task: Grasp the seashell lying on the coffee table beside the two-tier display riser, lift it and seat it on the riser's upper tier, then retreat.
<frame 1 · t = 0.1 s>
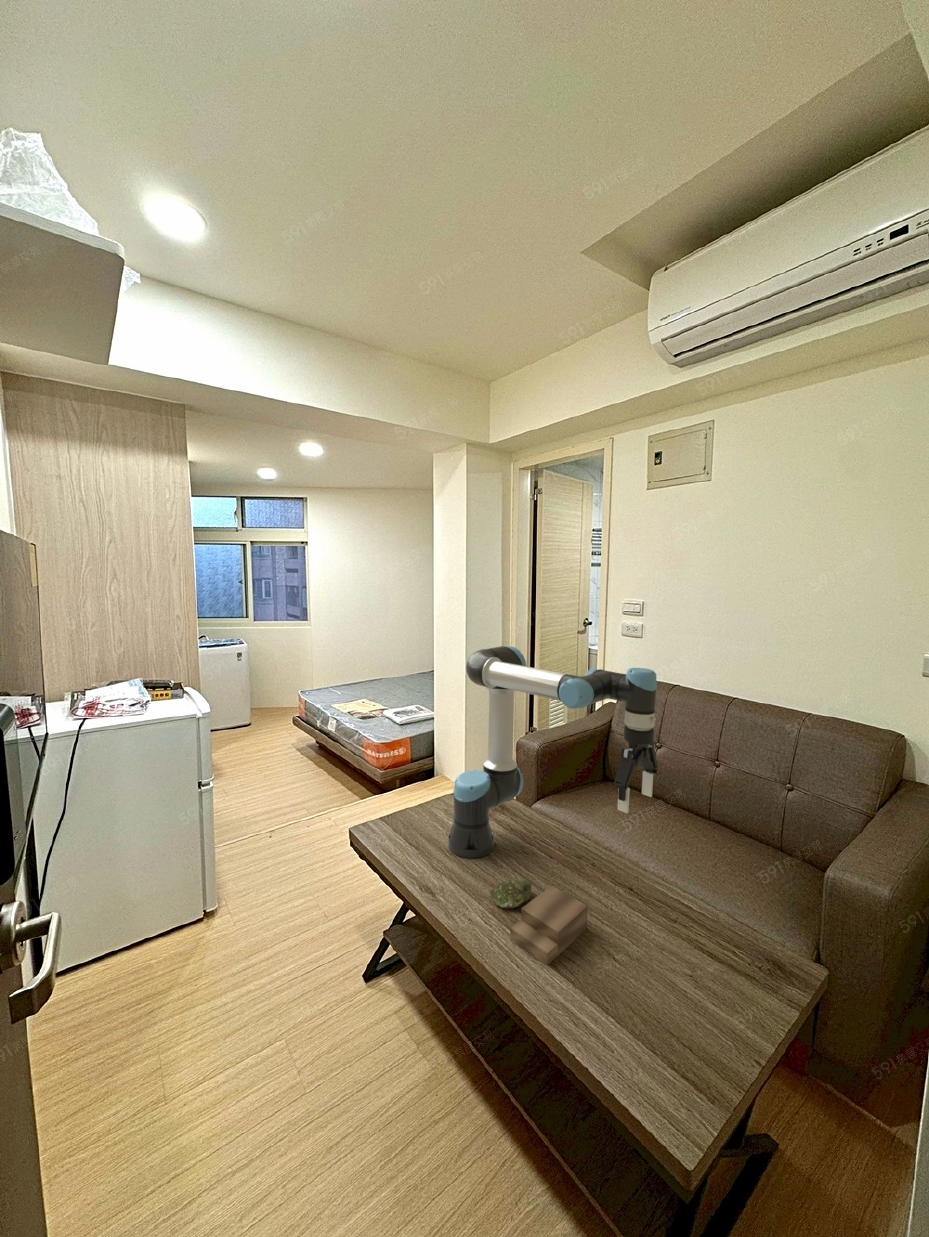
hand: (635, 802, 130), 28 cm above the table, fingers open, 13 cm apart
seashell: (511, 899, 133), on the table
riser: (548, 934, 119), on the table
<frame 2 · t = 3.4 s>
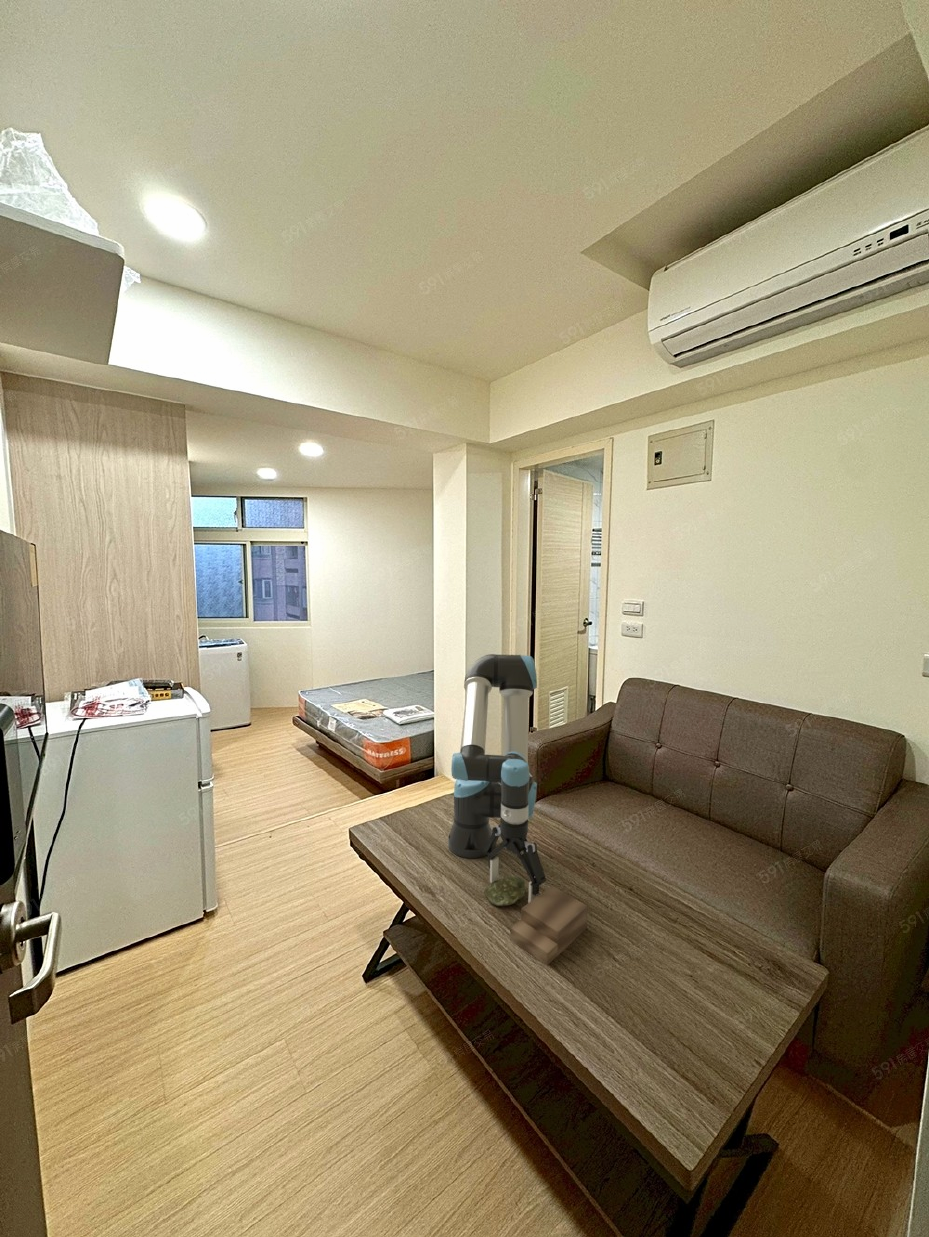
hand: (512, 892, 132), 2 cm above the table, fingers open, 13 cm apart
seashell: (505, 896, 133), on the table, touching gripper
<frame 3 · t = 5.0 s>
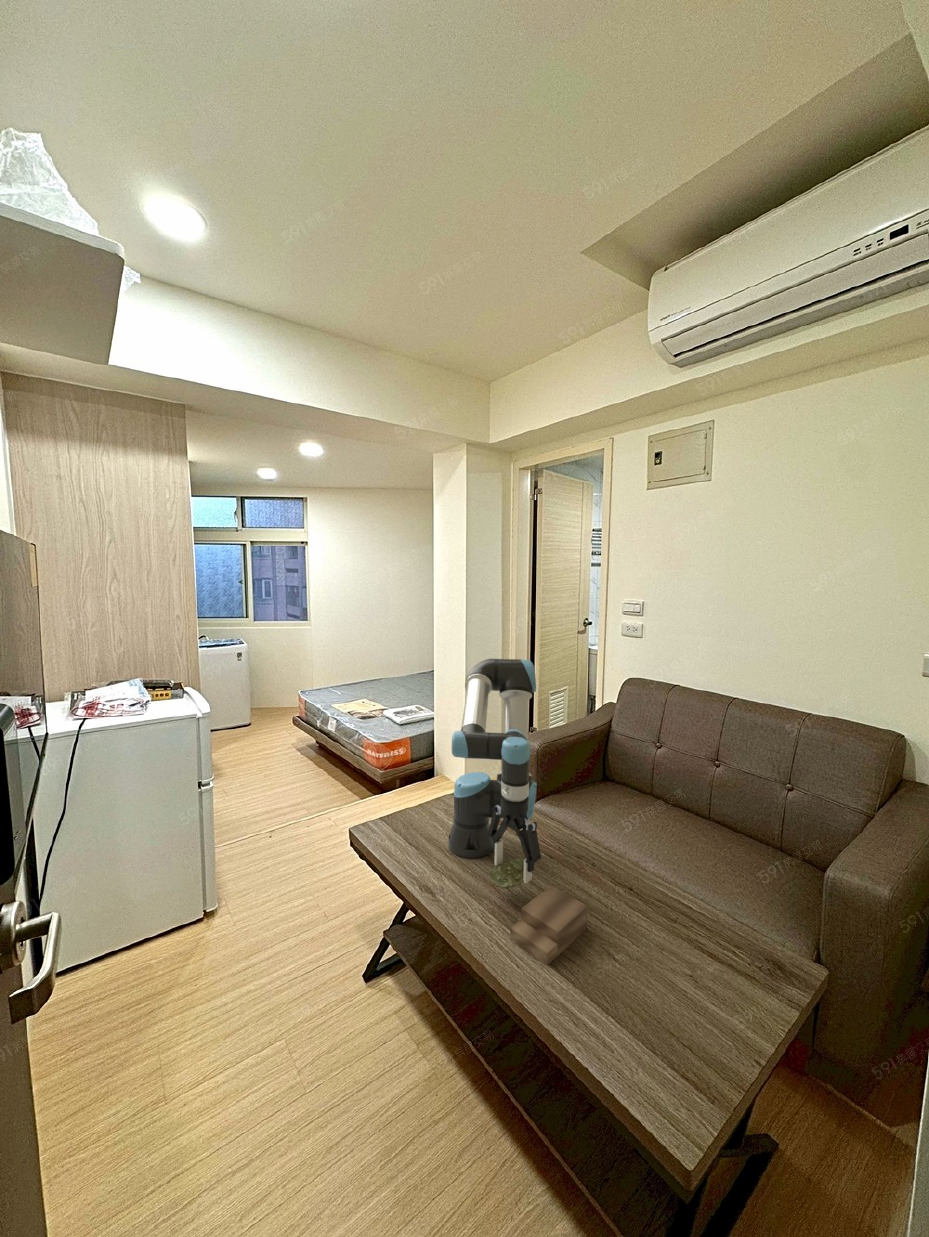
hand: (512, 871, 133), 7 cm above the table, fingers closed on seashell, 10 cm apart
seashell: (510, 879, 133), point 5 cm above the table, touching gripper
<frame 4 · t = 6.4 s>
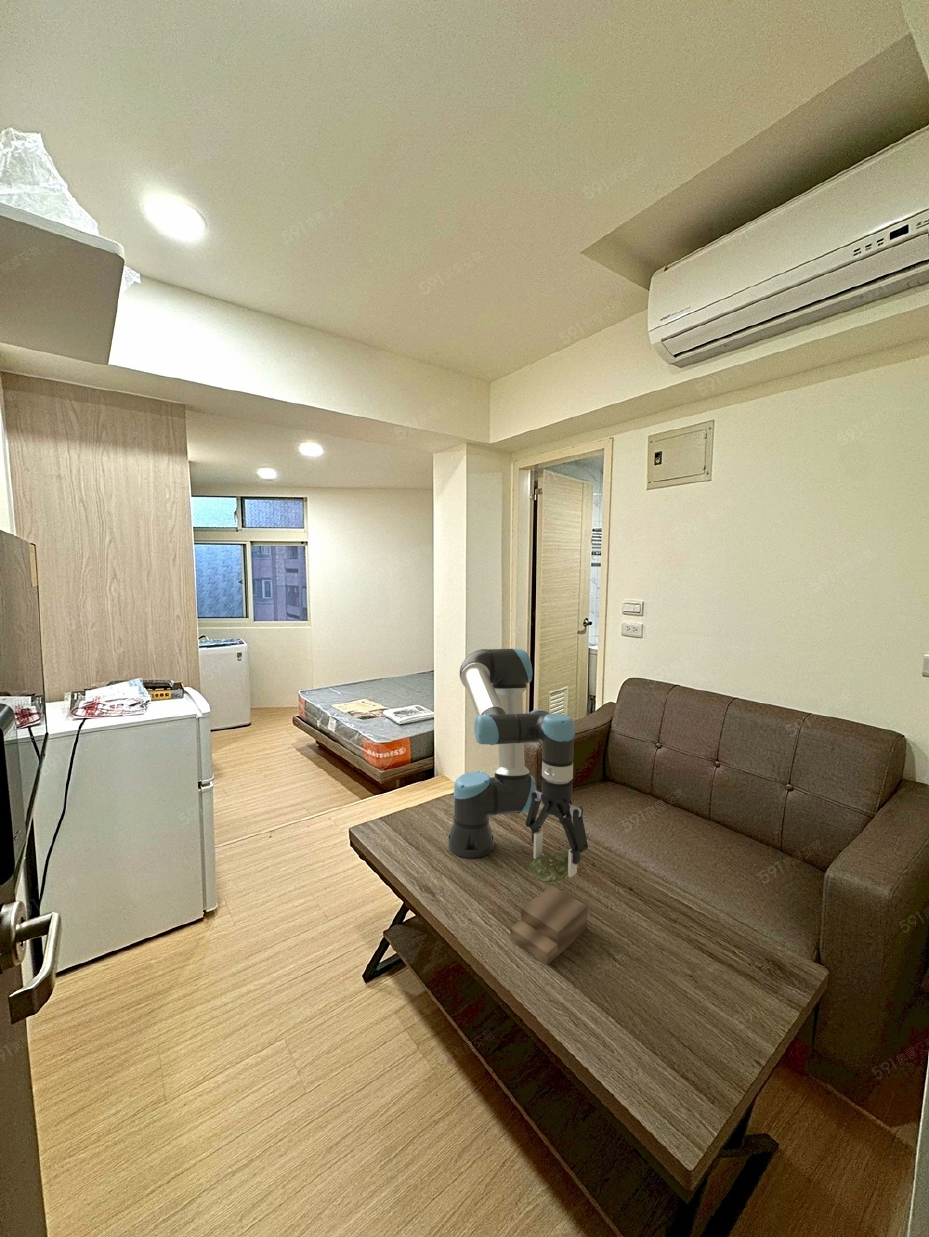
hand: (554, 865, 119), 17 cm above the table, fingers closed on seashell, 10 cm apart
seashell: (551, 873, 120), point 15 cm above the table, touching gripper
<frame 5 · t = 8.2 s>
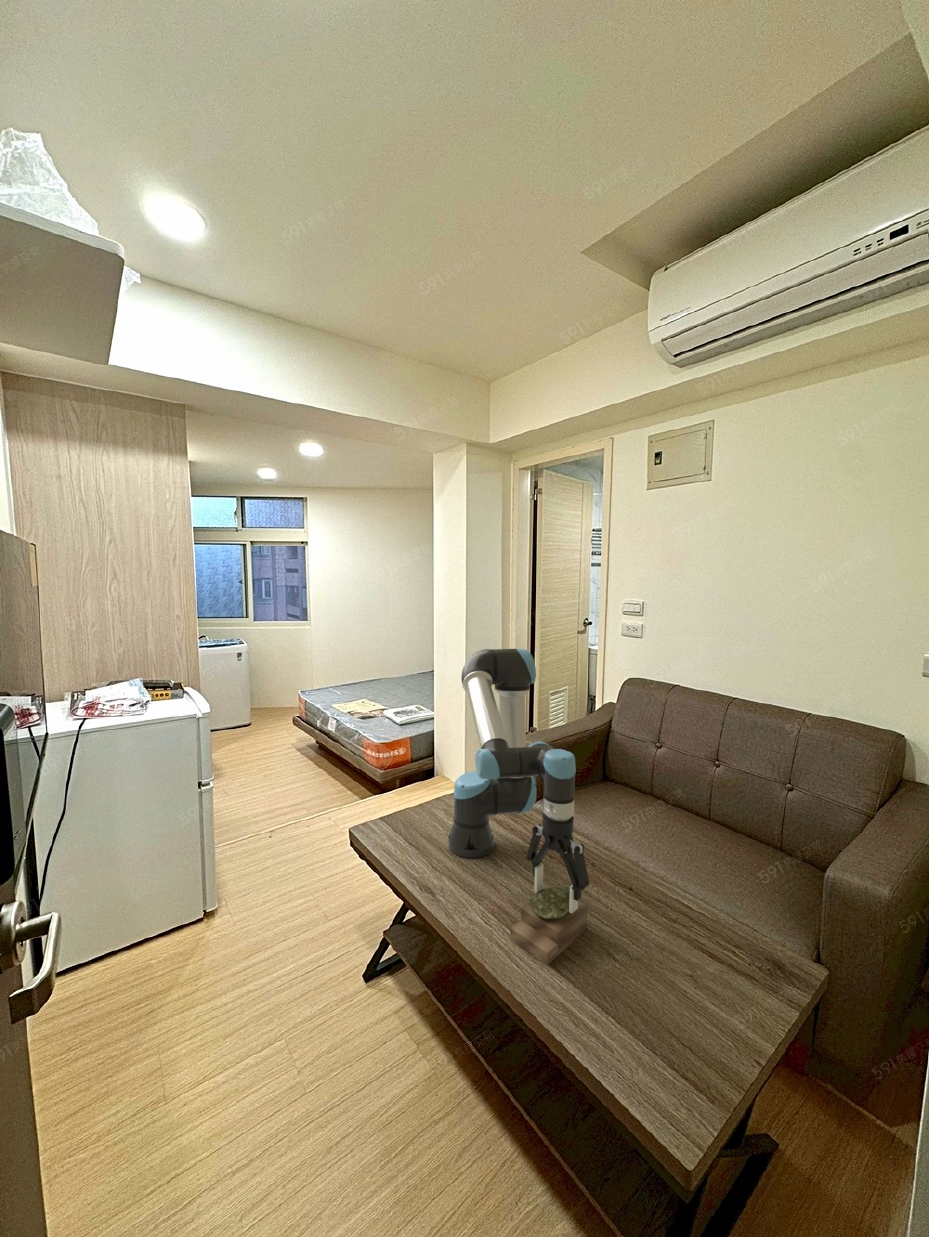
hand: (555, 899, 120), 8 cm above the table, fingers closed on seashell, 10 cm apart
seashell: (552, 908, 120), point 6 cm above the table, touching gripper, riser
when the fingers open (8 cm above the table, at t = 8.6 s): seashell stays where it is, resting on riser.
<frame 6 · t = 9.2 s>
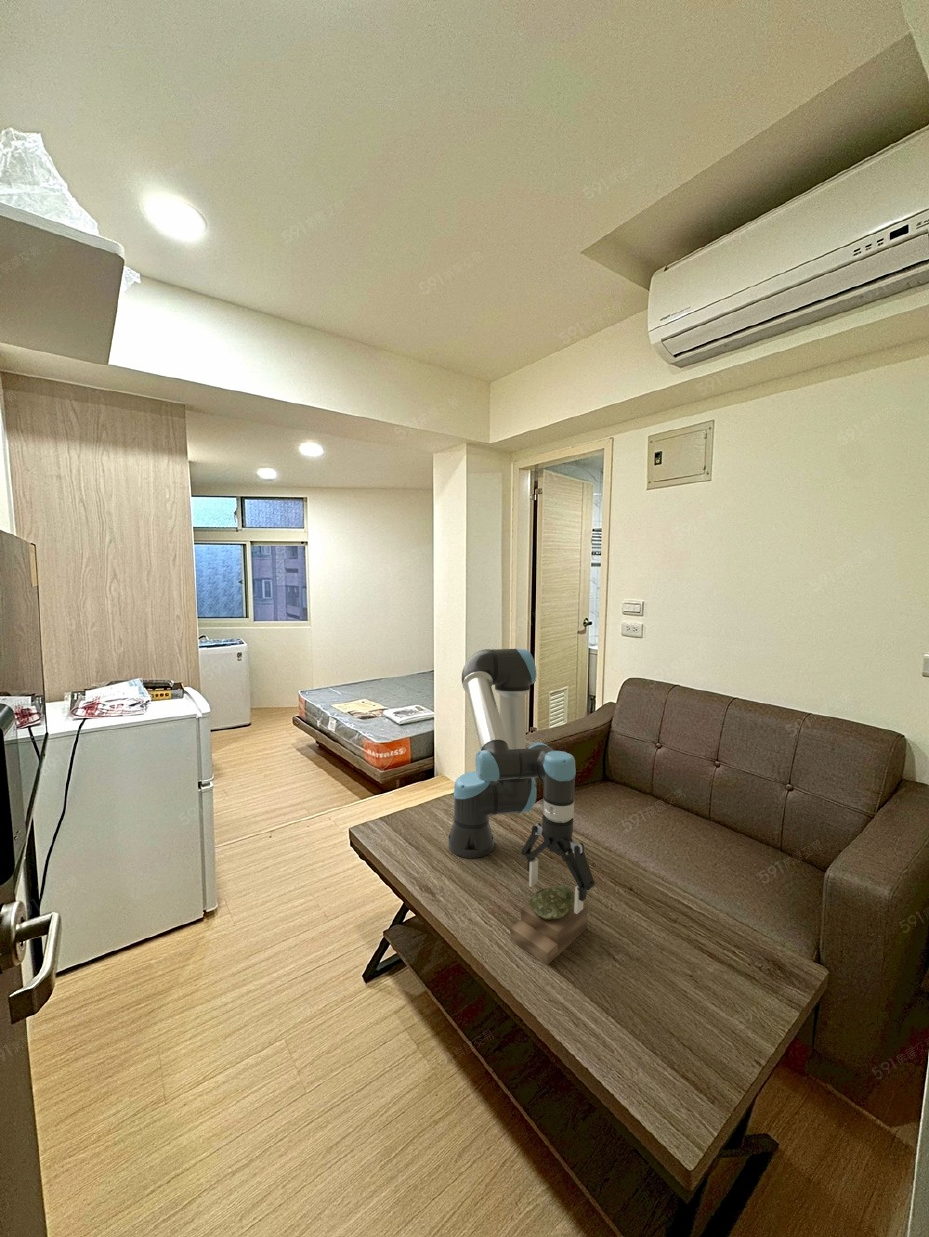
hand: (555, 896, 120), 9 cm above the table, fingers open, 13 cm apart
seashell: (552, 908, 120), point 6 cm above the table, touching riser
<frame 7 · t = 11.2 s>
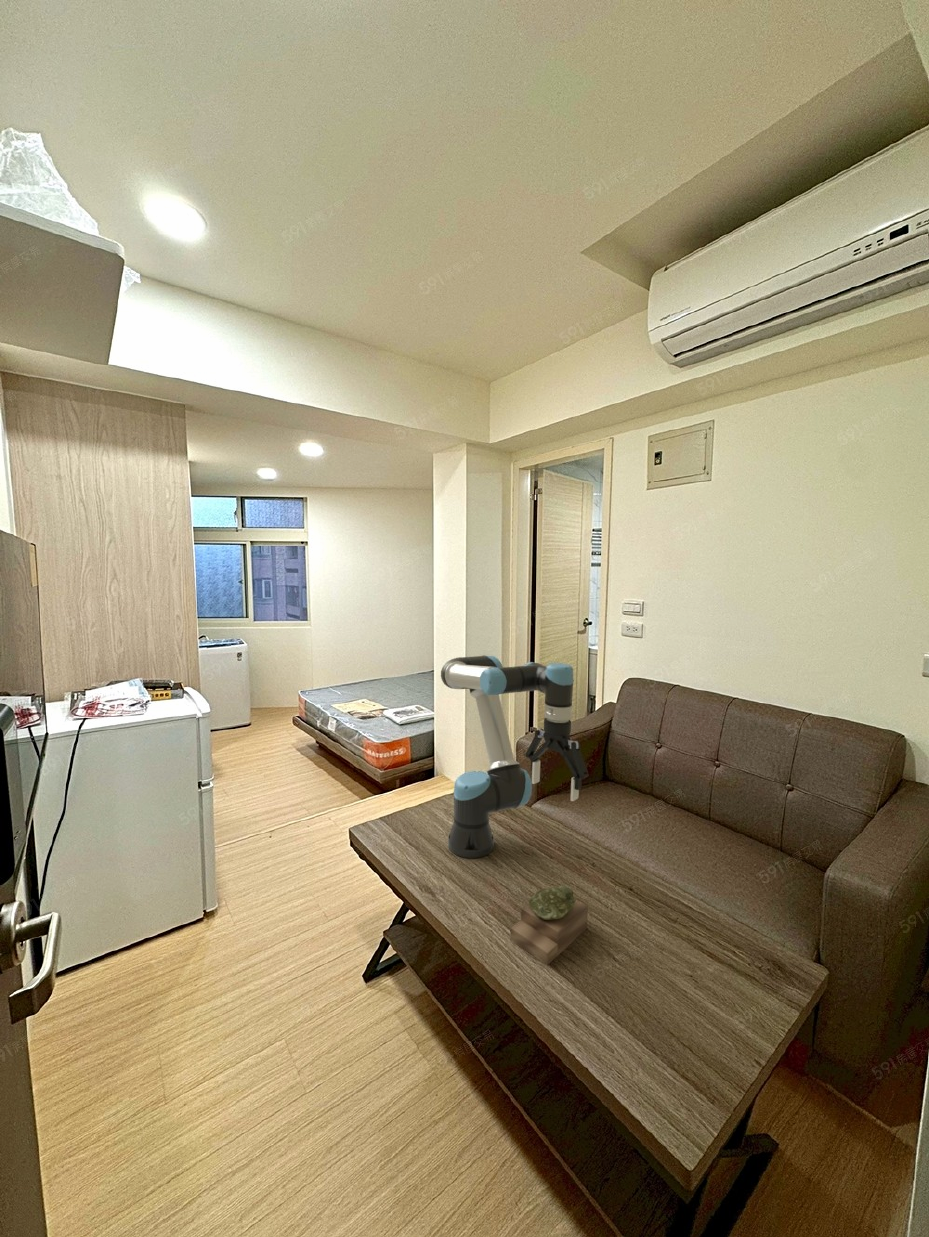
hand: (554, 790, 137), 28 cm above the table, fingers open, 13 cm apart
nothing on the table moved.
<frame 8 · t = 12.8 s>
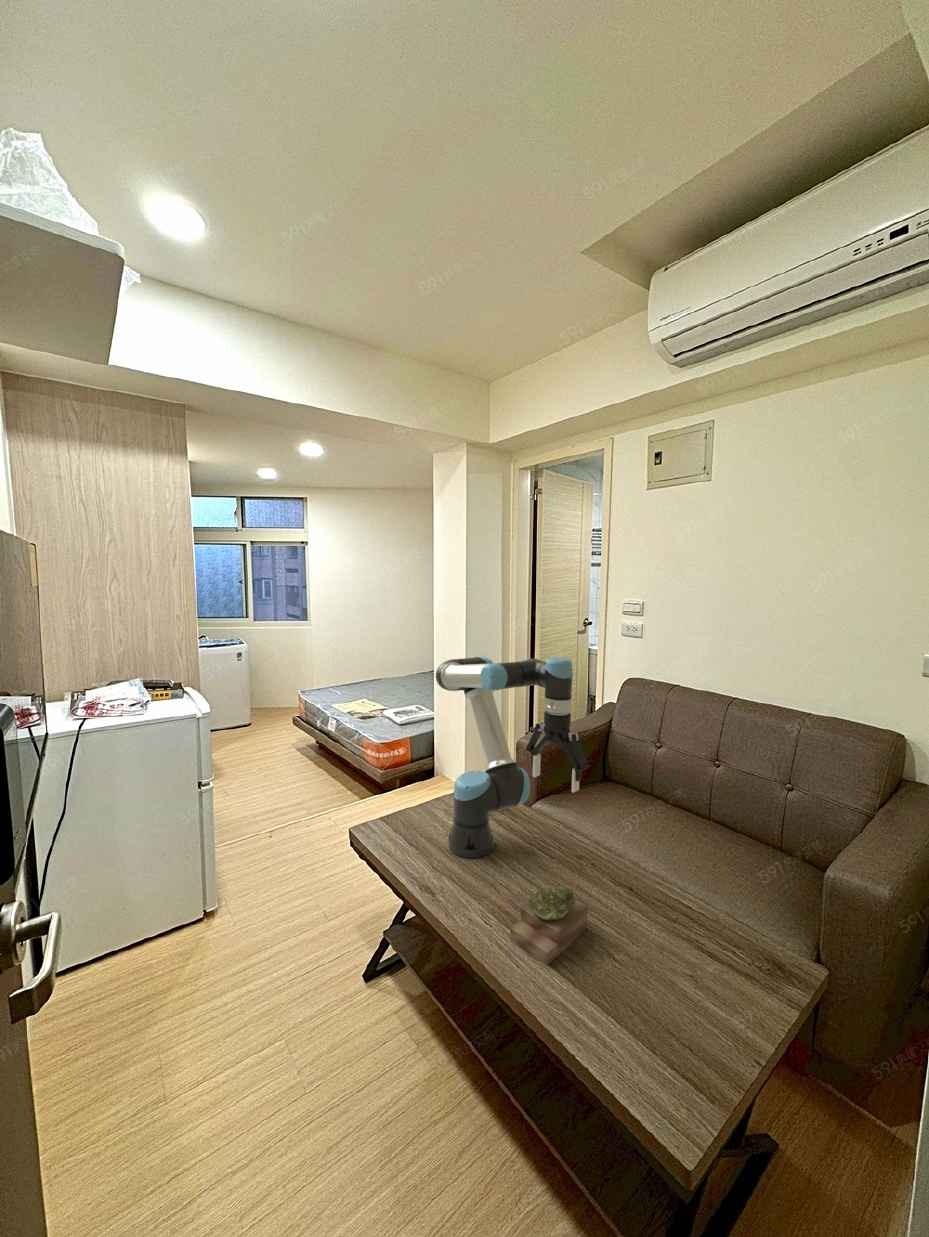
hand: (555, 783, 140), 29 cm above the table, fingers open, 13 cm apart
nothing on the table moved.
at the end: seashell inside the target area on the riser (0.9 cm from its centre), point 5.8 cm above the riser's base; the gripper is holding nothing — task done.
